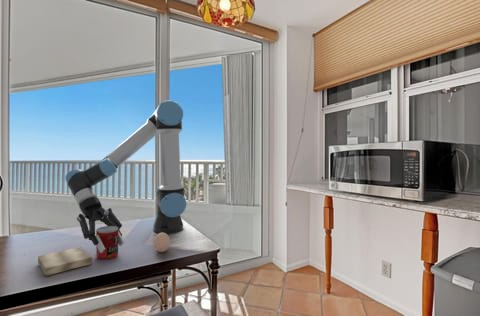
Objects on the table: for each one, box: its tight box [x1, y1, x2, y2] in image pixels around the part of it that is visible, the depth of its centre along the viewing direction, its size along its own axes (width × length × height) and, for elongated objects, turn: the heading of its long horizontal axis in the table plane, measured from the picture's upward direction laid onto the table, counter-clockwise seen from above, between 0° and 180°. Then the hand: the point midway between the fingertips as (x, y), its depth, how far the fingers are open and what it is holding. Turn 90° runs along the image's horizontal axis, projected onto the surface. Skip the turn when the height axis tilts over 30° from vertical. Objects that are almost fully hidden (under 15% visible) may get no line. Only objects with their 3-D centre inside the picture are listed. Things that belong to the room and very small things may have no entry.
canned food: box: [95, 225, 119, 261], centre depth 108 cm, size 8×8×11 cm
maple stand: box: [37, 246, 93, 277], centre depth 100 cm, size 14×14×3 cm
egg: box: [153, 232, 171, 253], centre depth 114 cm, size 7×7×8 cm
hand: (112, 247), depth 107 cm, fingers closed on canned food, 8 cm apart
